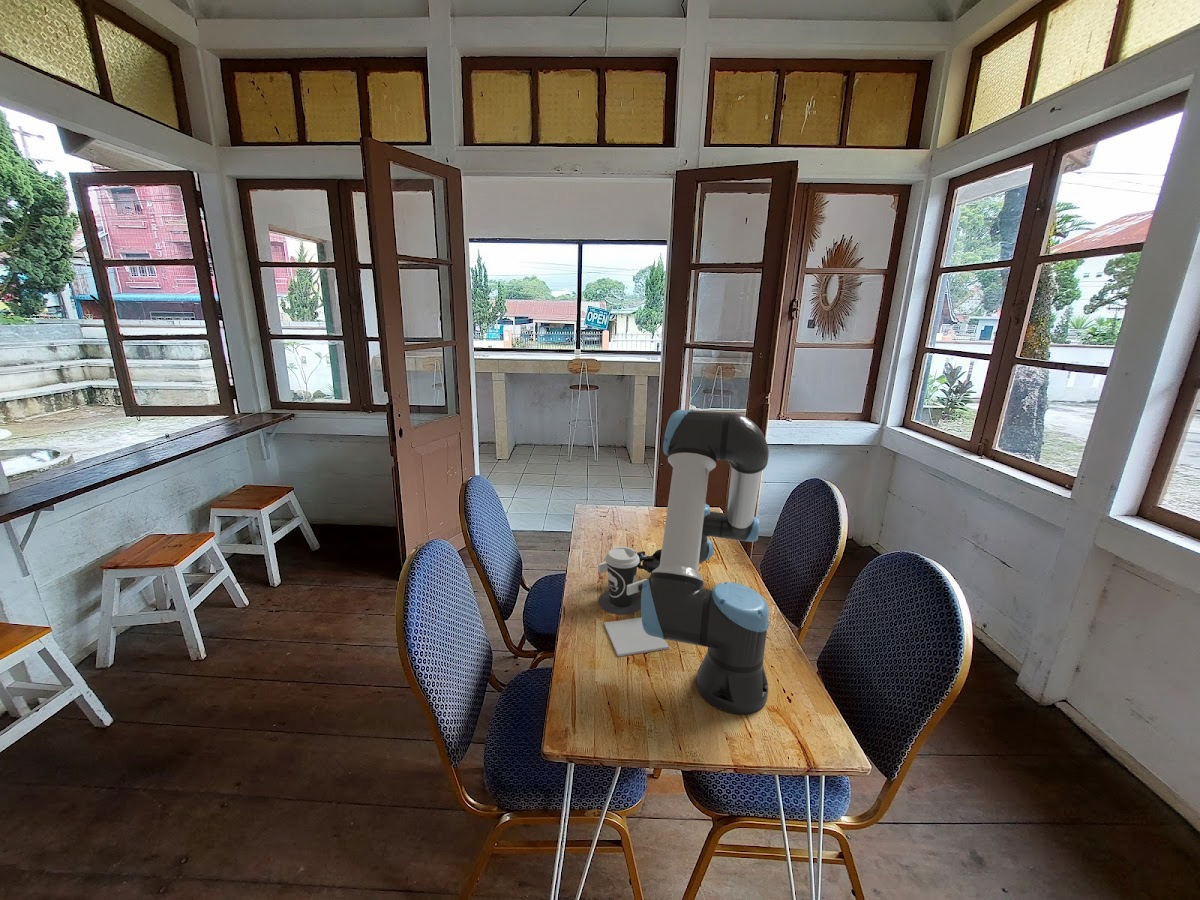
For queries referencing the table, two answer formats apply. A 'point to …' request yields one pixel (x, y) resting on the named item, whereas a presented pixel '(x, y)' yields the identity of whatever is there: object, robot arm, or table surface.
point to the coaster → (607, 606)
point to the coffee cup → (621, 574)
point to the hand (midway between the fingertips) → (612, 579)
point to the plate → (632, 637)
